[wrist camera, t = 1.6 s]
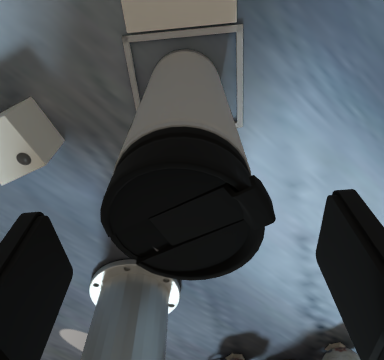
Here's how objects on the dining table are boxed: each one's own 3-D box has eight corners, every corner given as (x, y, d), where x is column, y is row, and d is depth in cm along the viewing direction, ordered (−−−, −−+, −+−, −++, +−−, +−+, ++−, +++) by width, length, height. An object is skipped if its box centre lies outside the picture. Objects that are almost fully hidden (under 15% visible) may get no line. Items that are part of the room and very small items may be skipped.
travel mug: (234, 95, 28) (302, 260, 11) (174, 129, 30) (157, 313, 13) (201, 31, 25) (228, 126, 8) (137, 72, 27) (53, 219, 10)
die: (65, 140, 31) (45, 165, 26) (26, 158, 32) (1, 185, 27) (31, 96, 28) (3, 115, 24) (-10, 117, 29) (-43, 140, 25)
